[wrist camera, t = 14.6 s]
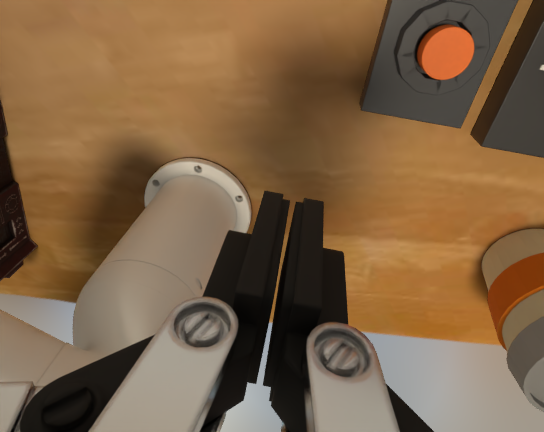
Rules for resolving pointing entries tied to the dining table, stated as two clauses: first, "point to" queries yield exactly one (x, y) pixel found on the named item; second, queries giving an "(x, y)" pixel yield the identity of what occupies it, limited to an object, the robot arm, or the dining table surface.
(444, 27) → the button
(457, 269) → the dining table surface
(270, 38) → the dining table surface
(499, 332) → the reusable coffee cup
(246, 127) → the dining table surface
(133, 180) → the dining table surface
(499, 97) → the timer panel
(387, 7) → the housing
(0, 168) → the crate
